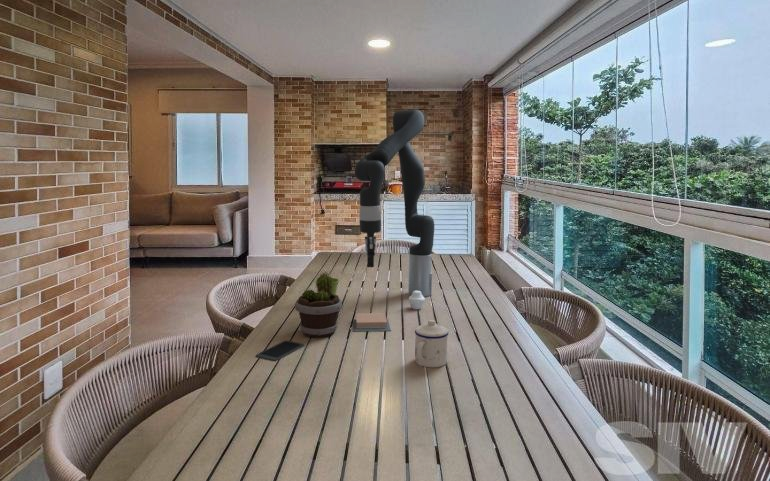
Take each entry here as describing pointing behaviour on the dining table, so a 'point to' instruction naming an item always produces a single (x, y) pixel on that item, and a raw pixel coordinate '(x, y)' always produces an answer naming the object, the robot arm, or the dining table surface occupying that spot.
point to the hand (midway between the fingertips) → (370, 266)
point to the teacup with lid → (431, 345)
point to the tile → (371, 320)
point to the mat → (370, 328)
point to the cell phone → (280, 350)
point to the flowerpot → (319, 309)
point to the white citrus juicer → (416, 300)
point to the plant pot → (333, 285)
